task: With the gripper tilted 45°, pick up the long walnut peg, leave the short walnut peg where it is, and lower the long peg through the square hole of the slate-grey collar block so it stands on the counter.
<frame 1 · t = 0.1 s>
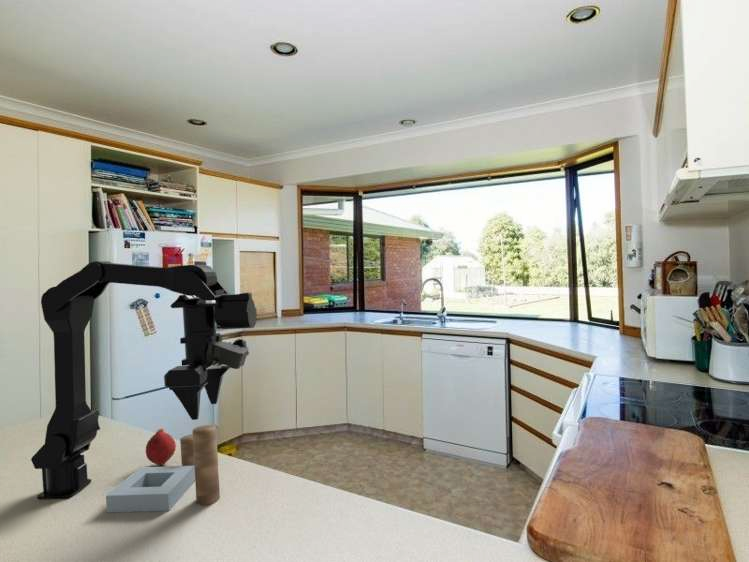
hand: (205, 411, 86), 15 cm above the countertop, tool pointing down, fingers open, 9 cm apart
onion: (161, 466, 97), on the countertop
collar block: (154, 495, 84), on the countertop
walnut peg long: (208, 499, 82), on the countertop
walnut peg short: (192, 470, 94), on the countertop
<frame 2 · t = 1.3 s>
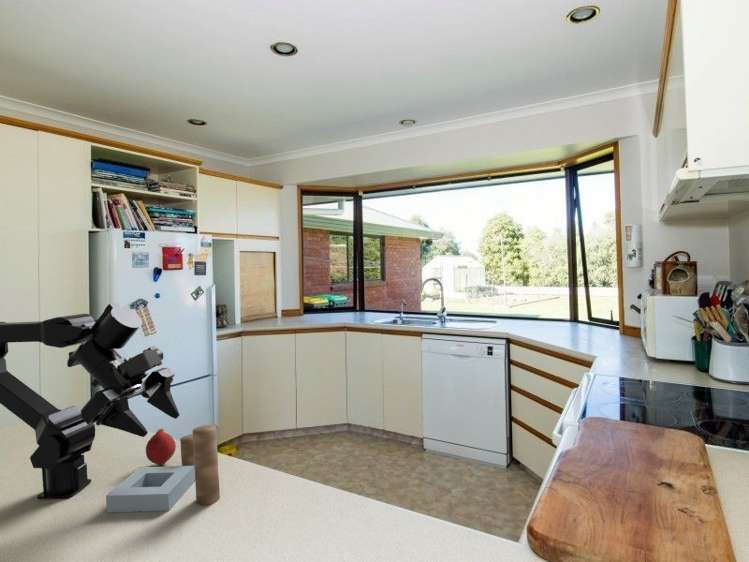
hand: (162, 425, 83), 13 cm above the countertop, tool tilted 45°, fingers open, 9 cm apart
nothing on the countertop moved.
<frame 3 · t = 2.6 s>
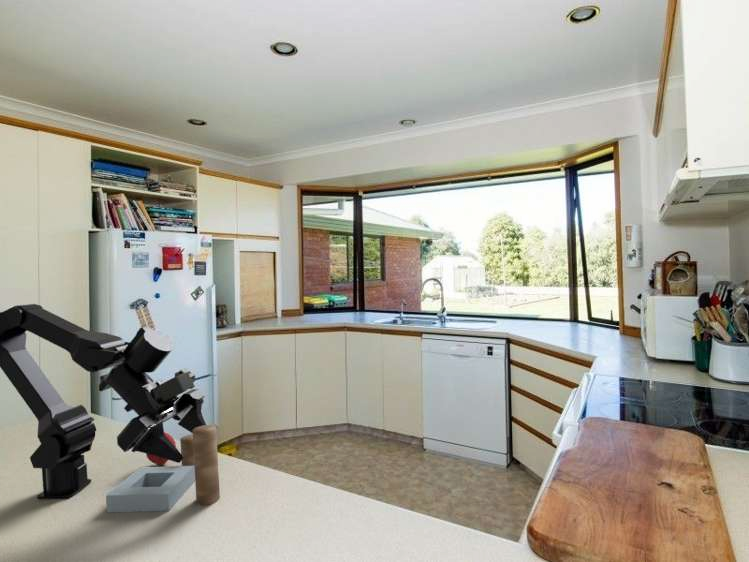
hand: (196, 449, 82), 9 cm above the countertop, tool tilted 45°, fingers open, 9 cm apart
nothing on the countertop moved.
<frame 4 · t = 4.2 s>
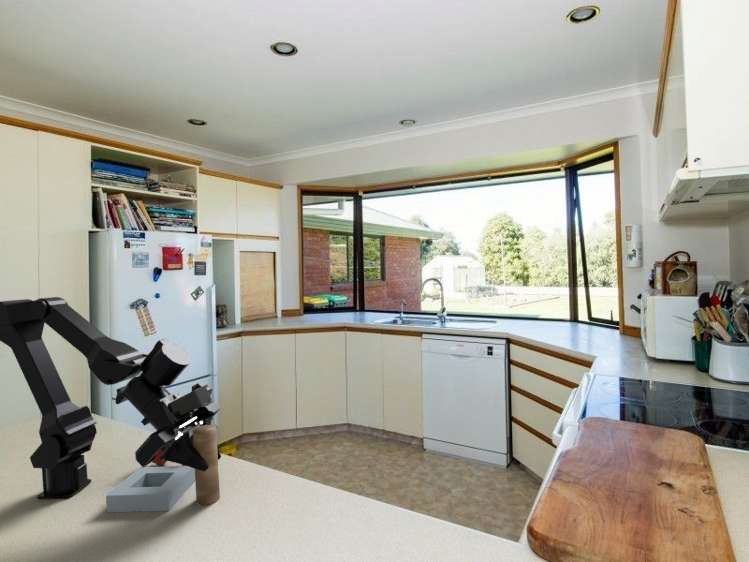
hand: (213, 464, 81), 7 cm above the countertop, tool tilted 45°, fingers closed on walnut peg long, 4 cm apart
walnut peg long: (208, 499, 82), on the countertop, touching gripper
everything else where it was.
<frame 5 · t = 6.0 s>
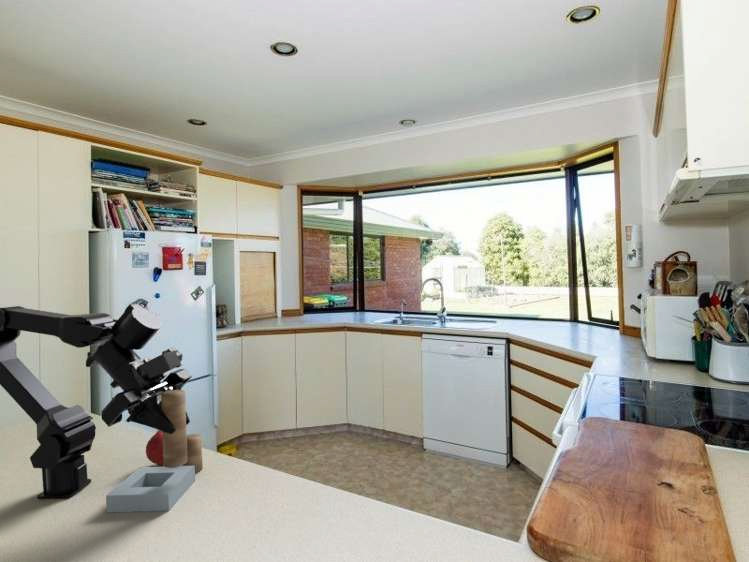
hand: (181, 427, 82), 13 cm above the countertop, tool tilted 45°, fingers closed on walnut peg long, 4 cm apart
walnut peg long: (175, 462, 83), point 6 cm above the countertop, touching gripper
everything else where it was.
when the fingers open (7 cm above the countertop, at t = 8.2 s): walnut peg long stays where it is, resting in collar block.
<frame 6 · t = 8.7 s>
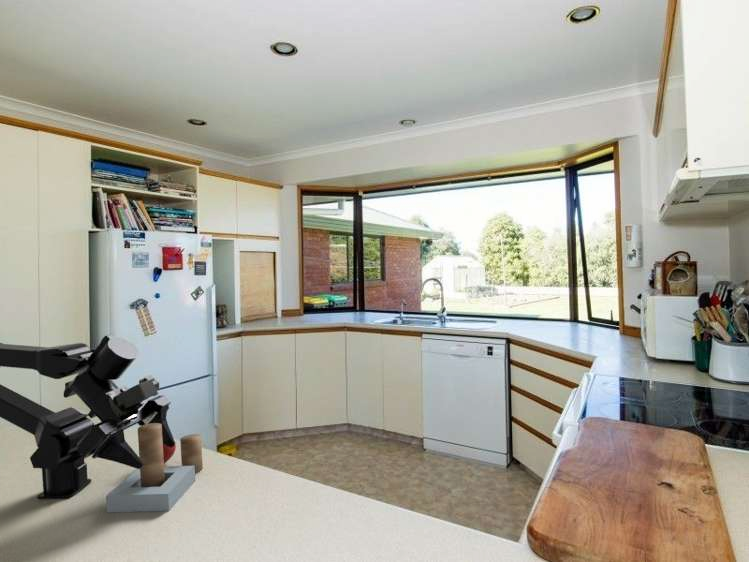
hand: (158, 455, 84), 8 cm above the countertop, tool tilted 45°, fingers open, 9 cm apart
walnut peg long: (153, 495, 84), resting in collar block
everything else where it was.
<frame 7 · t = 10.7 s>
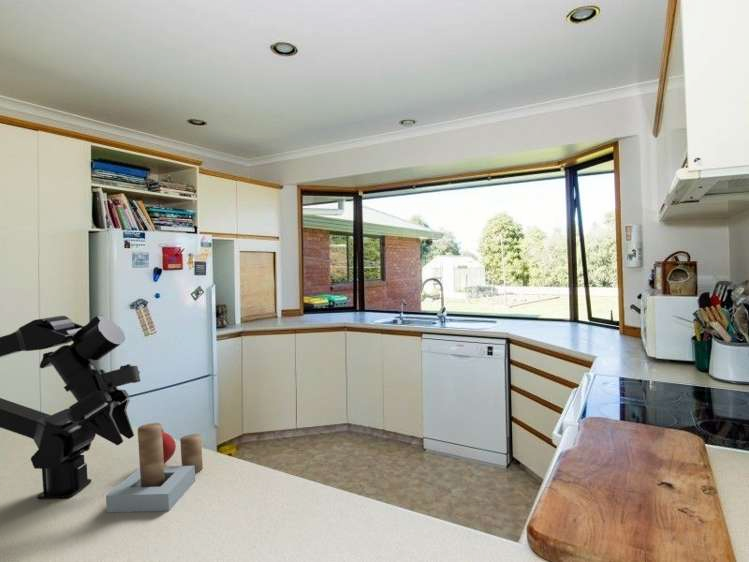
hand: (126, 440, 86), 10 cm above the countertop, tool tilted 35°, fingers open, 9 cm apart
nothing on the countertop moved.
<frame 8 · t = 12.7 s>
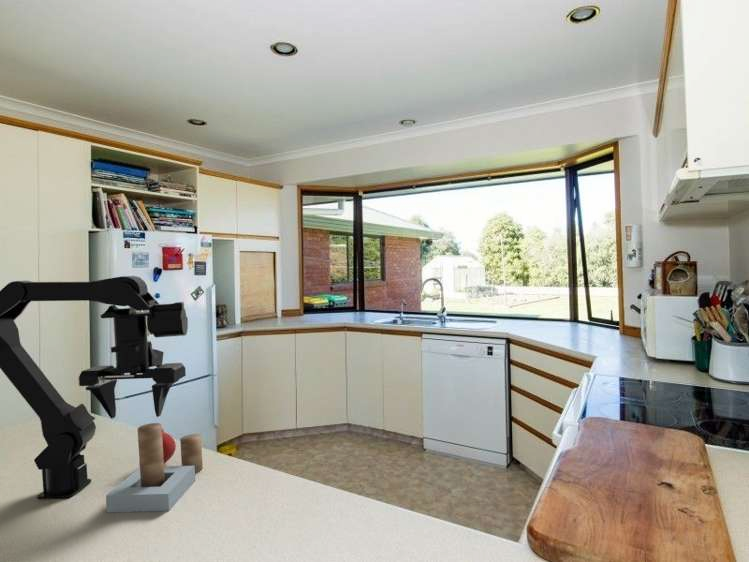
hand: (135, 416, 90), 13 cm above the countertop, tool pointing down, fingers open, 9 cm apart
nothing on the countertop moved.
at the end: walnut peg long 0.1 cm off-centre on the collar block, point 0.0 cm above the collar block's base; walnut peg long tilted 0°; walnut peg short moved 0.0 cm from its start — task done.
